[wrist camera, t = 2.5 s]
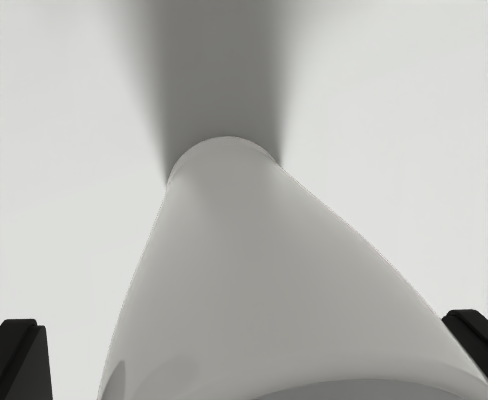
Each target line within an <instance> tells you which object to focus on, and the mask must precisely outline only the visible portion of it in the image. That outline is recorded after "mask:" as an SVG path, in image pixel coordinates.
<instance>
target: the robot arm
mask: <svg viewBox="0 0 488 400" xmlns="http://www.w3.org/2000/svg"><path fill="white" fill-rule="evenodd" d="M442 321H443V323H444V324H445V325H446V326H447V327H448V329H449V330H450V331H451V332H452V334H453V335H454V336H455V337H456V338H457V340H458V341H459V342H460V343H461V344H462V346H463V347H464V348H465V349H466V351H467V352H468V353H469V354H470V356H471V357H472V358H473V359H474V361H475V362H476V363H477V364H478V366H479V367H480V368H481V370H482V371H483V372H484V373H485V375H486V376H487V377H488V320H487V319H486V318H485V317H484V316H483V315H482V314H480V313H479V312H478V311H476V310H472V309H468V310H451V311H449V312H448V313H447V315H446V316H444V317H443V318H442ZM0 400H53V397H52V386H51V376H50V366H49V356H48V346H47V335H46V328H45V326H37V322H36V320H35V319H7V320H4V322H3V323H2V324H1V326H0Z"/></svg>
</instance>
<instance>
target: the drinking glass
mask: <svg viewBox="0 0 488 400" xmlns="http://www.w3.org/2000/svg"><path fill="white" fill-rule="evenodd" d="M97 400H488V377H487V376H486V375H485V373H484V372H483V371H482V370H481V368H480V367H479V366H478V364H477V363H476V362H475V361H474V359H473V358H472V357H471V356H470V354H469V353H468V352H467V351H466V349H465V348H464V347H463V346H462V344H461V343H460V342H459V341H458V340H457V338H456V337H455V336H454V335H453V334H452V332H451V331H450V330H449V329H448V327H447V326H446V325H445V324H444V323H443V321H442V320H441V319H440V318H439V317H438V315H437V314H436V313H435V312H434V311H433V309H432V308H431V307H430V306H429V305H428V304H427V302H426V301H425V300H424V299H423V298H422V297H421V296H420V294H419V293H418V292H417V291H416V290H415V289H414V288H413V287H412V286H411V284H410V283H409V282H408V281H407V280H406V279H405V278H404V277H403V276H402V275H401V274H400V273H399V272H398V271H397V269H396V268H395V267H394V266H393V265H392V264H391V263H390V262H389V261H388V260H387V259H386V258H385V257H384V256H383V255H382V254H381V253H379V252H378V251H377V250H376V249H375V248H374V247H373V246H372V245H371V244H370V243H369V242H368V241H367V240H366V239H365V238H364V237H362V236H361V235H360V234H359V233H358V232H357V231H356V230H355V229H353V228H352V227H351V226H350V225H349V224H348V223H346V222H345V221H344V220H343V219H342V218H341V217H339V216H338V215H337V214H336V213H335V212H333V211H332V210H331V209H330V208H329V207H327V206H326V205H325V204H324V203H323V202H321V201H320V200H319V199H318V198H317V197H315V196H314V195H313V194H312V193H311V192H309V191H308V190H307V189H306V188H305V187H303V186H302V185H301V184H300V183H299V182H298V181H296V180H295V179H294V178H293V177H292V176H291V175H289V174H288V173H287V172H286V171H285V170H284V169H283V168H281V167H280V166H279V165H278V163H277V162H276V161H275V159H274V158H273V157H272V156H271V155H270V154H269V153H268V152H267V151H266V150H265V149H263V148H262V147H261V146H259V145H257V144H256V143H254V142H252V141H249V140H246V139H243V138H239V137H232V136H221V137H214V138H210V139H207V140H204V141H202V142H200V143H198V144H196V145H194V146H193V147H191V148H190V149H188V150H187V151H186V152H185V153H184V154H183V155H182V156H181V157H180V158H179V159H178V161H177V162H176V164H175V165H174V167H173V169H172V171H171V173H170V175H169V178H168V182H167V186H166V193H165V196H164V199H163V202H162V204H161V207H160V210H159V212H158V215H157V217H156V220H155V222H154V225H153V228H152V230H151V233H150V235H149V238H148V240H147V243H146V245H145V248H144V250H143V253H142V255H141V258H140V260H139V263H138V265H137V268H136V270H135V273H134V275H133V278H132V280H131V283H130V286H129V288H128V291H127V294H126V296H125V299H124V302H123V305H122V308H121V311H120V314H119V317H118V320H117V323H116V326H115V329H114V333H113V336H112V339H111V343H110V346H109V350H108V354H107V358H106V361H105V365H104V370H103V374H102V378H101V382H100V386H99V391H98V396H97Z"/></svg>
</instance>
